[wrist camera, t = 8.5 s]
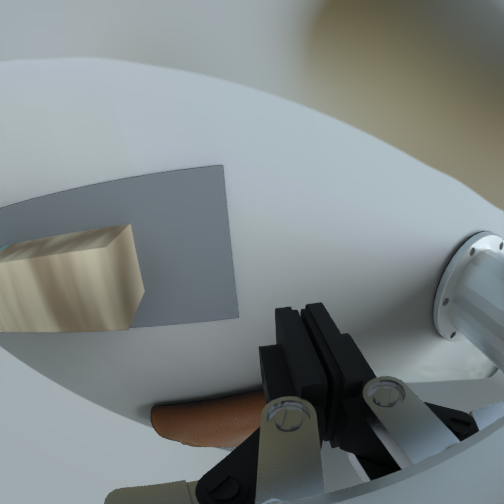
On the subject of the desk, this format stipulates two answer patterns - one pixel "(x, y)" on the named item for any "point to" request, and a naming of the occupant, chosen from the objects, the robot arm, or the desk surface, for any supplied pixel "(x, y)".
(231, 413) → the sunglasses case
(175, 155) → the desk surface
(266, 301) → the desk surface
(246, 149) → the desk surface
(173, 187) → the charcoal mat
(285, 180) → the desk surface
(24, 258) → the wooden block
